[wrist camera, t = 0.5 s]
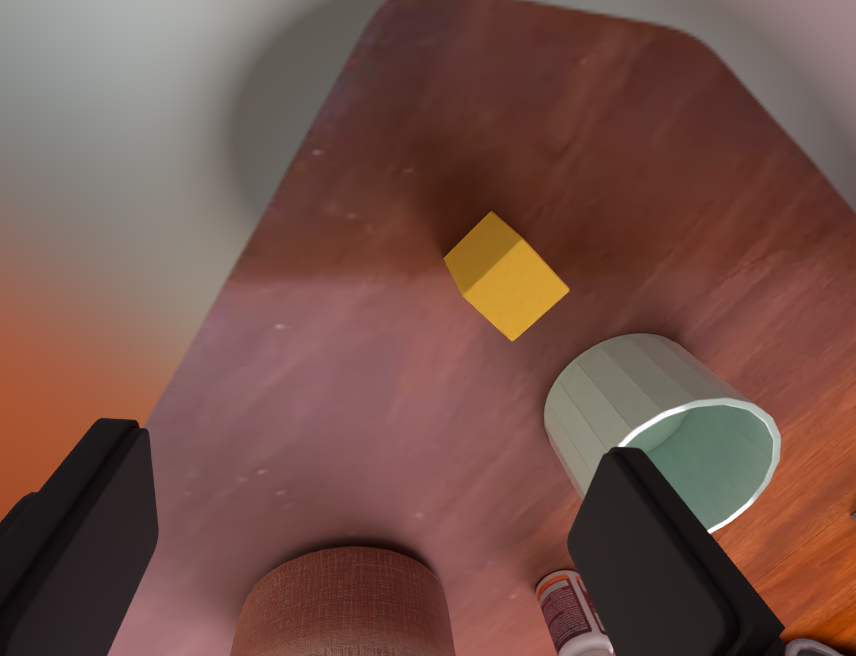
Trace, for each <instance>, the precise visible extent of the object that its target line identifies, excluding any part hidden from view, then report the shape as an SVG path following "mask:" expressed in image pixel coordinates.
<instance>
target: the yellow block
mask: <svg viewBox="0 0 856 656" xmlns="http://www.w3.org/2000/svg"><path fill="white" fill-rule="evenodd" d="M444 261H445V262H446V264H447V266H448V268H449V270H450V272H451V274H452V276H453V278H454V280H455V282H456V284H457V286H458V288H459V290H460V292H461V294H462V296H463V297H464V298H465V299H466V300H467V301H469V302H470V303H471V304H472V305H473V306H474V307H475V308H476V309H477V310H478V311H479V312H480V313H481V314H483V315H484V316H485V317H486V318H487V319H488V320H489V321H490V322H491V323H492V324H493V325H494V326H496V327H497V328H498V329H499V330H500V331H501V332H502V333H503V334H504V335H505V336H506V337H507V338H508V339H510V340H511V341H514V340H515V339H516V338H517V337H518V336H520V335H521V334H522V333H523V332H524V331H525V330H526V329H527V328H529V327H530V326H531V325H532V324H533V323H534V322H535V321H536V320H538V319H539V318H540V317H541V316H542V315H543V314H544V313H545V312H546V311H548V310H549V309H550V308H551V307H552V306H553V305H554V304H555V303H557V302H558V301H559V300H560V299H561V298H562V297H563V296H564V295H566V294H567V293H568V292H569V291H570V289H569V288H568V286H567V285H566V284H565V283H564V282H563V281H562V280H561V279H560V278H559V277H558V276H557V275H556V273H555V272H554V271H553V270H552V269H551V268H550V267H549V266H548V265H547V264H546V263H545V262H544V260H543V259H542V258H541V257H540V256H539V255H538V254H537V253H536V252H535V251H534V250H533V248H532V247H531V246H530V245H529V244H528V243H527V242H526V241H525V240H524V239H523V238H522V237H521V236H520V235H519V234H518V233H516V232H515V231H514V230H513V229H512V228H511V227H510V226H508V225H507V224H506V223H505V222H504V221H503V220H502V219H500V218H499V217H498V216H497V215H496V214H495V213H494V212H492V211H490V212H489V213H488V214H487V215H486V216H485V217H484V218H483V219H482V220H481V221H480V222H479V223H478V224H477V225H476V226H475V227H474V228H473V229H472V230H471V231H470V232H469V233H468V234H467V235H466V236H465V237H464V238H463V239H462V240H461V241H460V242H459V243H458V244H457V245H456V246H455V247H454V248H453V249H452V250H451V251H450V252H449V253H448V254H447V255H446V256H445V257H444Z"/></svg>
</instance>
